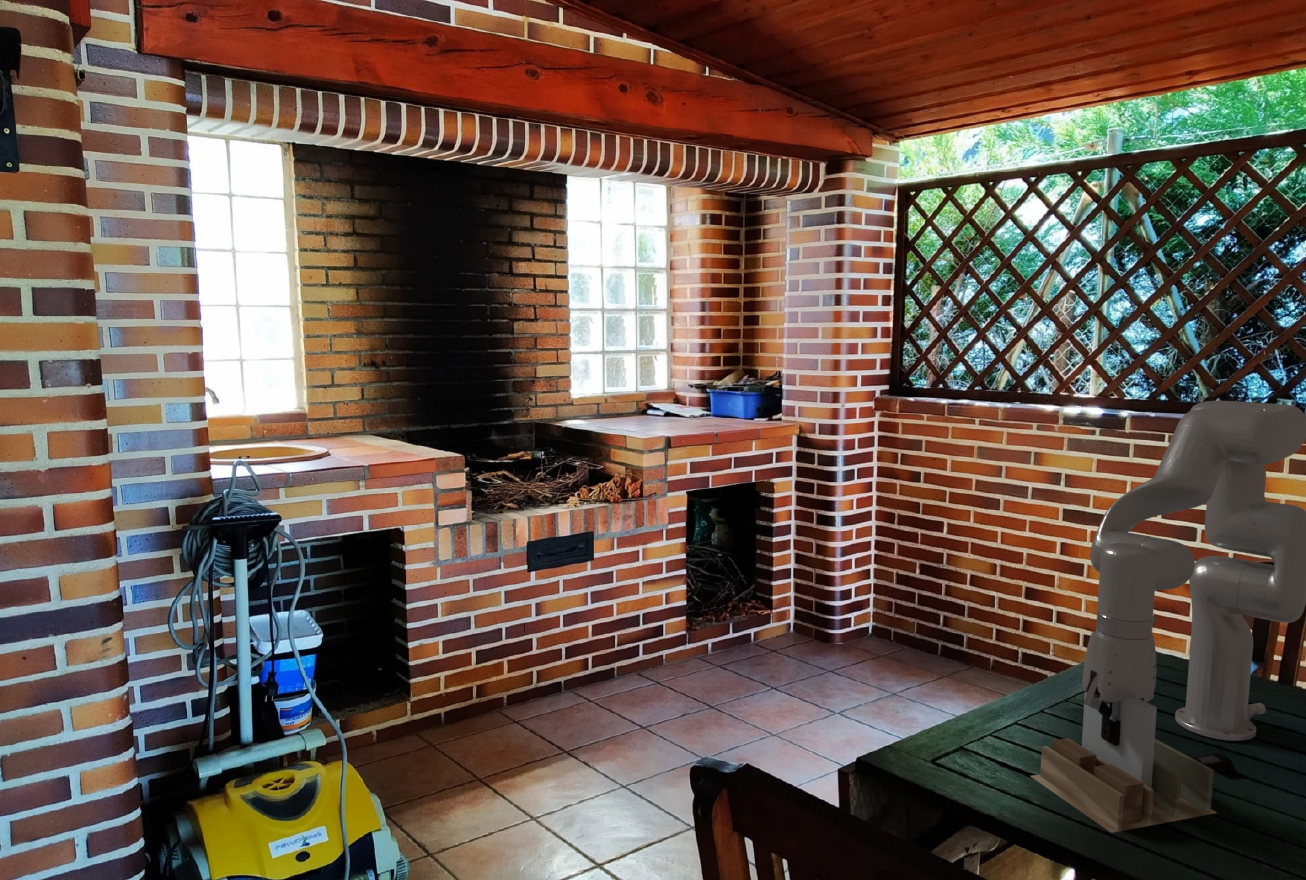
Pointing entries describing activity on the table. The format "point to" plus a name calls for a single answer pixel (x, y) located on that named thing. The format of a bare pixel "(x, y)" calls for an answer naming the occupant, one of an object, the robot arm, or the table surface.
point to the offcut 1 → (1075, 754)
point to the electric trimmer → (1217, 762)
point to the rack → (1171, 797)
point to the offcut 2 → (1124, 790)
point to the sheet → (1125, 738)
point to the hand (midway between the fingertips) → (1116, 740)
